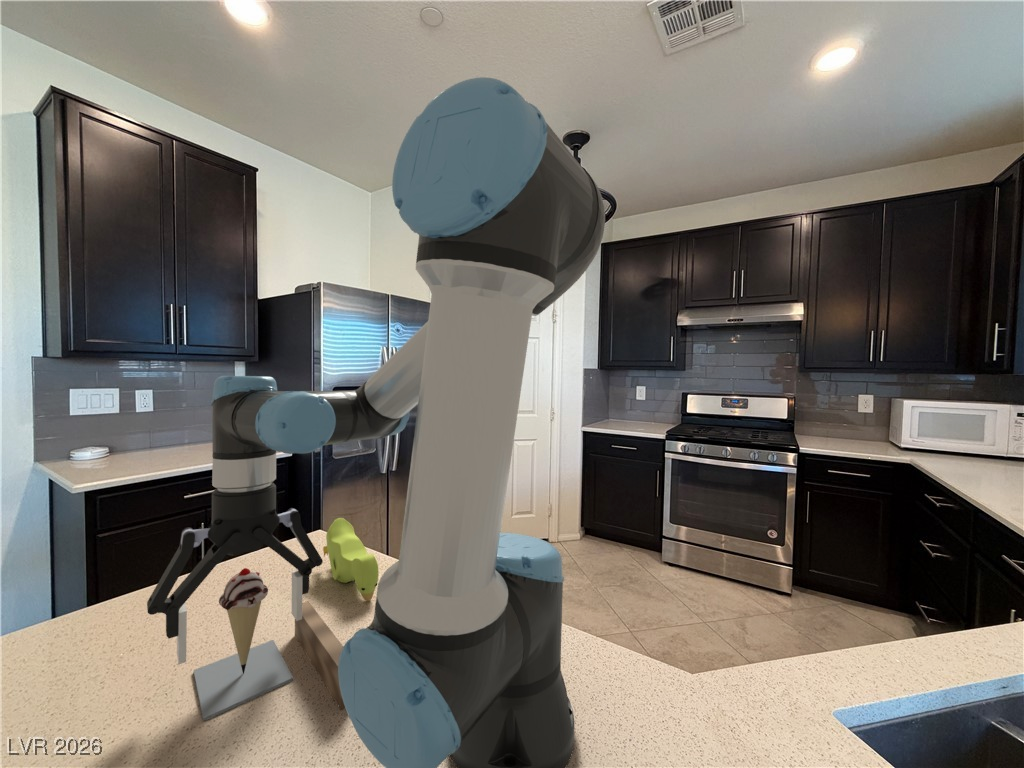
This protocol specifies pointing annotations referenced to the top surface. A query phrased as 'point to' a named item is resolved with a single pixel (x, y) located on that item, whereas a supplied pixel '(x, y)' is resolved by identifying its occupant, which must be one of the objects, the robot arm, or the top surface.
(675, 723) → the top surface
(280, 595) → the top surface
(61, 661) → the top surface
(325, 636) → the walnut wall
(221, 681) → the grey mat
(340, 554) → the toy
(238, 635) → the ice cream cone
